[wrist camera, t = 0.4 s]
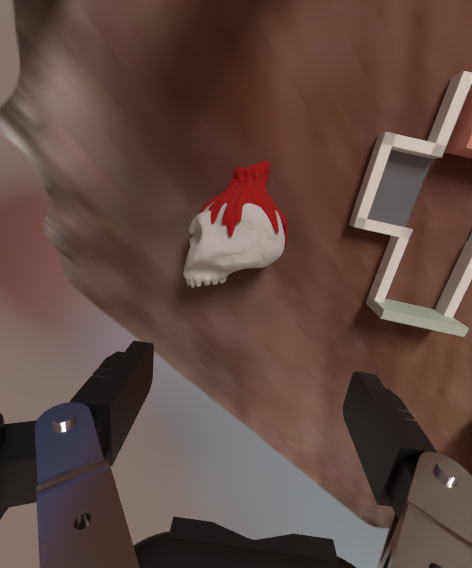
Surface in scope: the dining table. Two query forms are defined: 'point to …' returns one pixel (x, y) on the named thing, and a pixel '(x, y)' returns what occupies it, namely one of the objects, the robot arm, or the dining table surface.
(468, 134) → the block
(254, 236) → the white and red lump
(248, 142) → the dining table surface
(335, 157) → the dining table surface
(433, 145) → the box
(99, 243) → the dining table surface
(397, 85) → the dining table surface
